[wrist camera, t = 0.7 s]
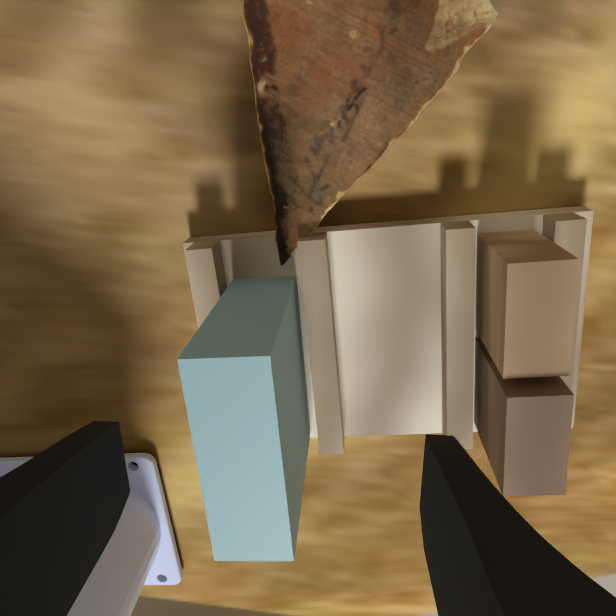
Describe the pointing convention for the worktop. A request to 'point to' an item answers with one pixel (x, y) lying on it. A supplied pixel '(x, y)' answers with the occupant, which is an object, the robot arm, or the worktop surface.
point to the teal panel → (250, 418)
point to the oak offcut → (525, 302)
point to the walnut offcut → (523, 428)
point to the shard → (345, 89)
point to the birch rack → (387, 314)
